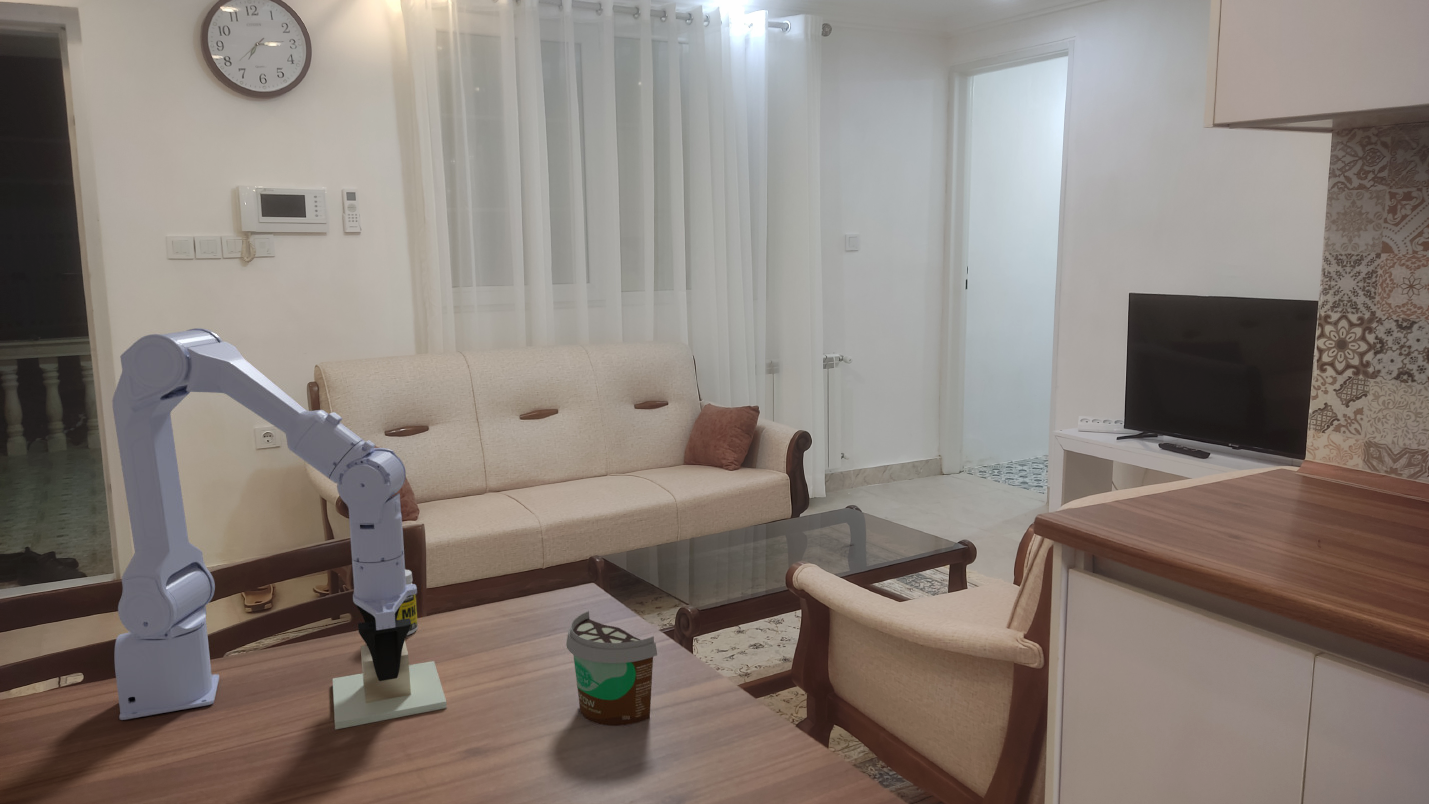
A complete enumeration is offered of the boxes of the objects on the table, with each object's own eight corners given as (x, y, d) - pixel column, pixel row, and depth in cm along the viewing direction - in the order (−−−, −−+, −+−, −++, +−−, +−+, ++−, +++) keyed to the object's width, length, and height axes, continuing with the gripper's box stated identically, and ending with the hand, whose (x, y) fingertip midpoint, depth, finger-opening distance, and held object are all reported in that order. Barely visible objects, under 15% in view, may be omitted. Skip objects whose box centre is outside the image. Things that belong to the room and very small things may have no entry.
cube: (365, 703, 107) (362, 662, 107) (363, 685, 112) (360, 645, 111) (410, 694, 109) (408, 654, 108) (407, 677, 114) (404, 638, 113)
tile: (335, 729, 103) (334, 722, 103) (333, 684, 114) (332, 678, 114) (446, 707, 108) (446, 701, 107) (434, 666, 119) (434, 660, 118)
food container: (546, 707, 108) (543, 625, 106) (588, 688, 112) (585, 609, 110) (617, 743, 99) (614, 655, 98) (659, 722, 104) (657, 637, 102)
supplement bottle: (406, 639, 127) (402, 580, 126) (375, 636, 128) (371, 578, 127) (424, 625, 132) (420, 569, 131) (394, 623, 133) (390, 567, 132)
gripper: (420, 569, 103) (427, 684, 105) (408, 534, 116) (414, 636, 118) (352, 578, 100) (361, 696, 102) (347, 541, 113) (355, 646, 116)
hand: (385, 665), depth 110 cm, fingers open, 7 cm apart
